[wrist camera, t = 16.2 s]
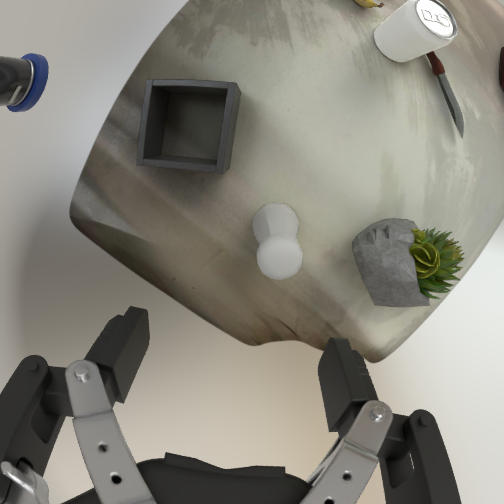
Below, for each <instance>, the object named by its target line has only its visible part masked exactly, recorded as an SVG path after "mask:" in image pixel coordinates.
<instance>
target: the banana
mask: <svg viewBox="0 0 504 504" xmlns="http://www.w3.org/2000/svg"><path fill="white" fill-rule="evenodd" d="M355 1H356V2H357V3H358V4H360V5H361V6H363V7H366V8H372V7H381V8H382V6H384V4H383V3H380V5H377V4H375V3H374V2H373V1H372V0H355Z"/></svg>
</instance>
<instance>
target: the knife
mask: <svg viewBox="0 0 504 504" xmlns="http://www.w3.org/2000/svg"><path fill="white" fill-rule="evenodd" d="M426 55H427V57H428V59H429V61H430V63H431V66H432V70H433V72H434V74H435V76H436V77H437V79H438V82H439V84H440V87H441V89H442V92H443V94H444V97H445V99H446V102H447V104H448V107H449V110H450V112H451V115H452V117H453V119H454V122H455V124H456V126H457V129H458V131H459V133H460V135H461V137H462V139H463V132H464V122H463V115H462V112H461V109H460V107H459V105H458V102H457V100H456V98H455V96H454V93H453V91H452V89H451V87H450V84H449V82H448V80H447V77H446V75H445V74H444V73H445V71H444V67H443V65H442V63H441V62H440V60H439V59H438V58H437V57H436V55H435V53H434V51H431V52H429V53H427V54H426Z"/></svg>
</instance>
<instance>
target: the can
mask: <svg viewBox="0 0 504 504" xmlns="http://www.w3.org/2000/svg"><path fill="white" fill-rule="evenodd" d="M457 32H458V28H457V24H456V21H455V19H454V17H453V15H452V14H451V12H450V11H449V10H448V9H447V8H446V7H445V6H444V5H443V4H442V3H441V2H439V1H438V0H408V1H407V2H406V3H404V4H403V5H402V6H401V7H399V8H398V9H397V10H396V11H395V12H393V13H392V14H391V15H390V16H389V17H387V18H386V19H385V20H384V21H383V22H382V23H381V24H379V25H378V26H377V27H376V29H375V31H374V40H375V43H376V45H377V47H378V48H379V50H380V51H381V52H382V53H383V54H384V55H385V56H386V57H388V58H389V59H391V60H393V61H396V62H407V61H410V60H412V59H414V58H417V57H419V56H422V55H424V54H427V53H429V52H431V51H434V50H436V49H439V48H442V47H444V46H446V45H448V44H449V43H450V42H451V41H452V39H454V38H455V37H456V36H457Z"/></svg>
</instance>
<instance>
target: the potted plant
mask: <svg viewBox="0 0 504 504" xmlns="http://www.w3.org/2000/svg"><path fill="white" fill-rule="evenodd" d="M435 228H436V227H435ZM435 228H434V229H432V230H430V231H429V232H428V229H427V230H426V232H424V230H425V229H424V230H423V231H420V230H419V229H418V228H417V226H416V224H415V223H414V222H413V221H410V220H407V219H395V218H393V219H385V220H382V221H379V222H377V223H374V224H372V225H370V226H369V227H368V228H366V229H365V230H364V231H362V232H361V233H359V234H358V235H357V236H356V238H355V239H354V240H353V242H352V247H353V253H354V256H355V260H356V263H357V266H358V268H359V271H360V274H361V276H362V279H363V281H364V283H365V286H366V288H367V290H368V292H369V294H370V296H371V298H372V300H373V302H374V305H377V306H388V307H418V306H430V302H429V298H434V299H440V298H438V297H435V296H433V295H431V294H429V292H428V291H431V292H435V293H447V292H448V291H450V290H449V289H447V288H445V287H451V286H453V285H452V284H449V283H446V282H444V281H443V280H460V279H458V278H457V277H455V276H454V275H452V274H453V273H456V272H457V271H460V269H461V268H463V267H458V266H457V264H458V263H460V262H461V261H462V260H463V259H464V258H461V256H462V255H463V254H464V253H462V254H459V252H461V251H462V250H460V249H461V246H455V245H454V244H456V243H458V242H459V241H457V242H452V240H453V239H454V238H453V239H451V240H449V239H447V240H445V239H446V238H447V237H448V235H449V234H450V233H452V232H449V233H446V234H444V233H445V232H443V233H442V234H440V235H438V236H437V234H438V233H439V232H440V231H439V232H437V233H436V234H434V235H433V233H434V230H435ZM443 234H444V235H443ZM432 235H433V236H432ZM436 236H437V237H436ZM458 248H459V249H458ZM444 290H448V291H444Z"/></svg>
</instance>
